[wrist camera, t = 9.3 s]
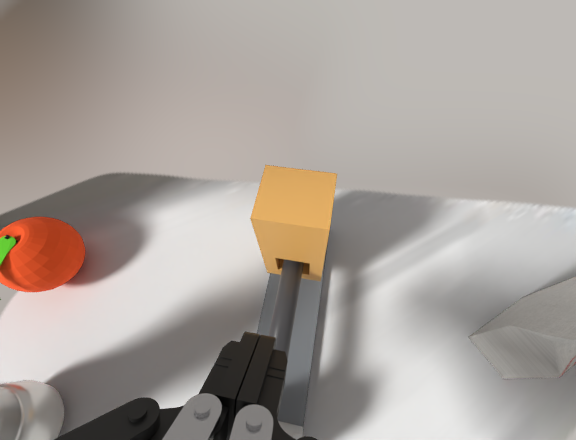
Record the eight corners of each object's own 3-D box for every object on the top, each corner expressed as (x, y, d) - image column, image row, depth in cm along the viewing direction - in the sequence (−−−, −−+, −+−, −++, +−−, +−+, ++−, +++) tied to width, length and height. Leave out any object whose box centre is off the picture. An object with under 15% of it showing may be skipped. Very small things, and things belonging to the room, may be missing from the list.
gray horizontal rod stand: (297, 464, 22) (295, 509, 14) (232, 448, 22) (194, 482, 14) (329, 227, 31) (338, 174, 23) (283, 220, 32) (277, 167, 24)
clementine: (75, 316, 28) (9, 297, 22) (10, 306, 28) (-72, 284, 22) (111, 240, 32) (65, 205, 25) (53, 233, 32) (-6, 197, 26)
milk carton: (468, 337, 25) (554, 312, 17) (522, 297, 27) (628, 255, 18) (503, 378, 24) (619, 376, 15) (559, 334, 25) (695, 307, 16)
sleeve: (320, 281, 25) (329, 229, 16) (267, 272, 25) (250, 218, 17) (326, 239, 27) (337, 173, 18) (276, 231, 27) (265, 164, 19)
